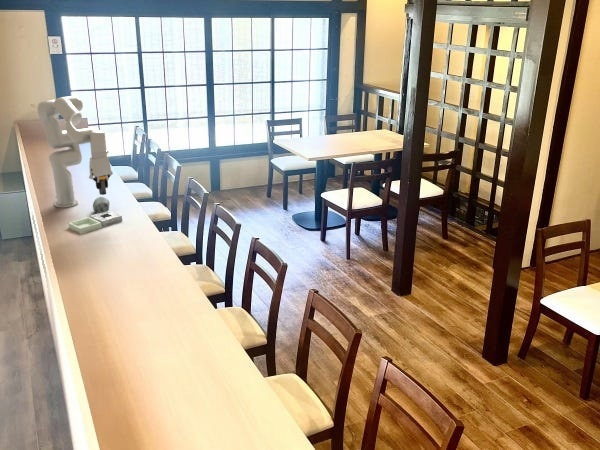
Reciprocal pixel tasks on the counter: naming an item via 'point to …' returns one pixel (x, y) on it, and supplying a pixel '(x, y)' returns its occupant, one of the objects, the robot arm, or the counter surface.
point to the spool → (101, 205)
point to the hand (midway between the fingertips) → (102, 187)
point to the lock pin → (102, 185)
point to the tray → (84, 225)
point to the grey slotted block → (107, 217)
